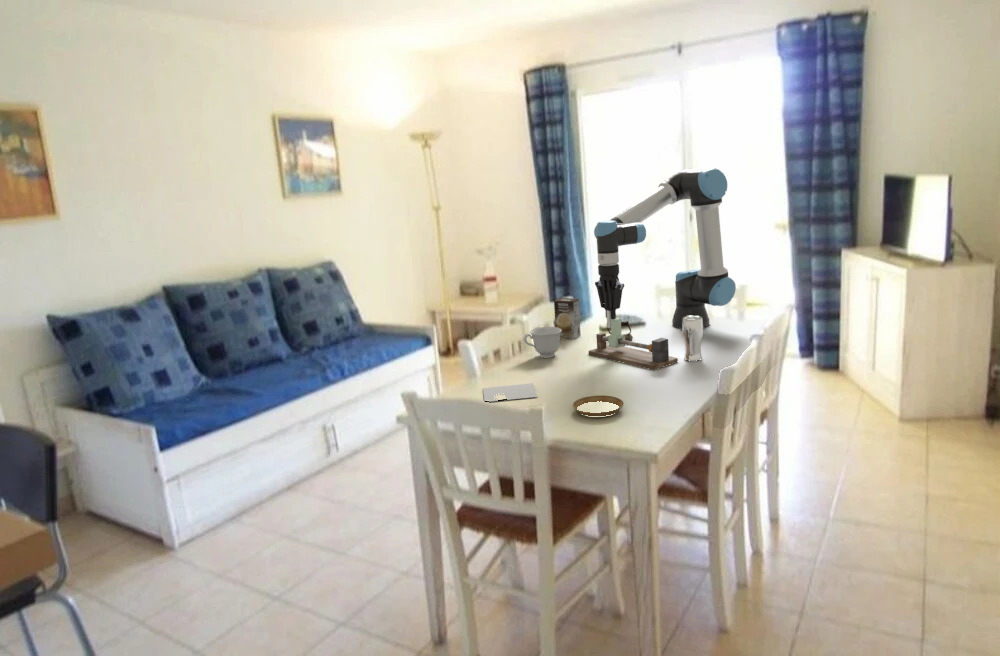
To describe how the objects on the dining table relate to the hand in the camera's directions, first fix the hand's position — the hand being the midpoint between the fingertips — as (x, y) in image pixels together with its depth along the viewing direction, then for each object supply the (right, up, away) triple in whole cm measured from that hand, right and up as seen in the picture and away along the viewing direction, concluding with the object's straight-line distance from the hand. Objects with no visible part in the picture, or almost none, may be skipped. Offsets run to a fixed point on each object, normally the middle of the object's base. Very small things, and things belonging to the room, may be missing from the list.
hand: (611, 326), depth 253 cm
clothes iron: (+6, -6, +21) cm, 23 cm away
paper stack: (-34, -21, -27) cm, 48 cm away
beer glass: (+27, -12, -12) cm, 32 cm away
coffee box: (-13, -4, +33) cm, 35 cm away
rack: (+7, -11, -5) cm, 14 cm away
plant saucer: (-13, -25, -54) cm, 61 cm away
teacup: (-25, -11, +7) cm, 28 cm away
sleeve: (+2, -7, 0) cm, 7 cm away
